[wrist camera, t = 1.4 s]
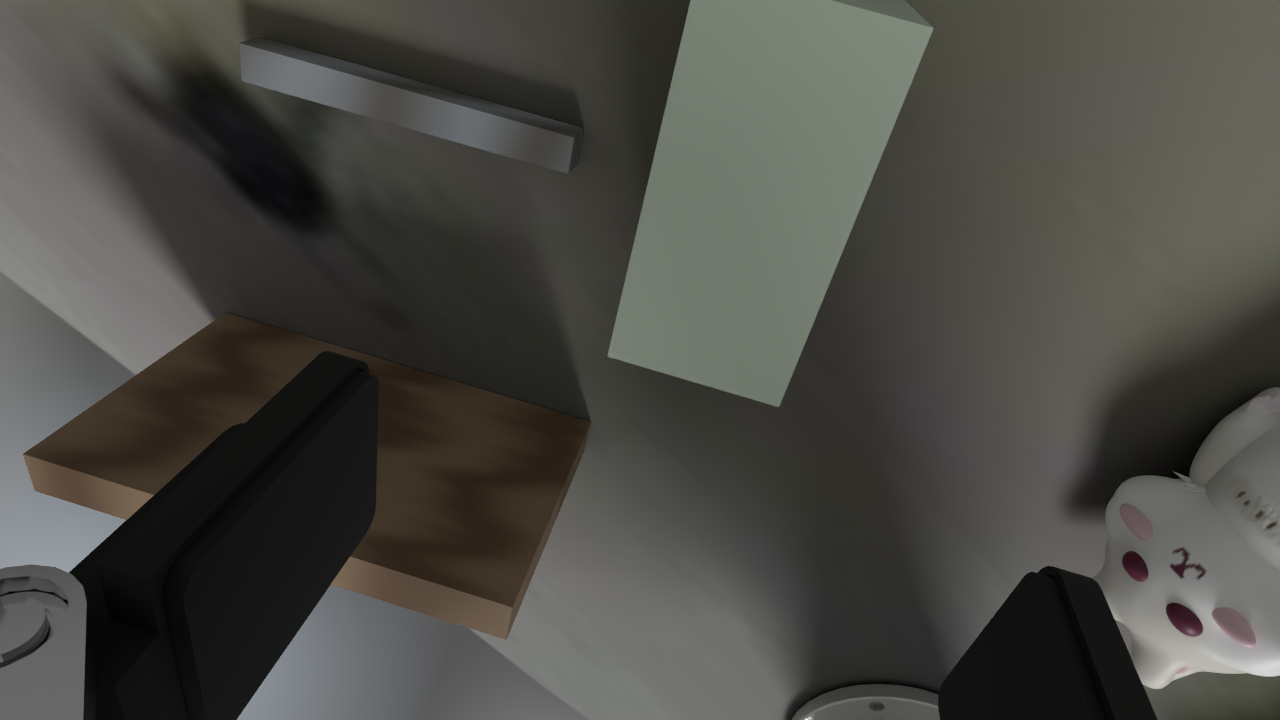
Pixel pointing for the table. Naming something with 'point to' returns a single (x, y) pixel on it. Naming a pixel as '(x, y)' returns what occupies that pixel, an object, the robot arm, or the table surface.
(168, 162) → the table surface
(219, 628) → the robot arm
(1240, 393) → the table surface
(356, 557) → the brown piece
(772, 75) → the pale green block
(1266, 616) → the cat figurine
